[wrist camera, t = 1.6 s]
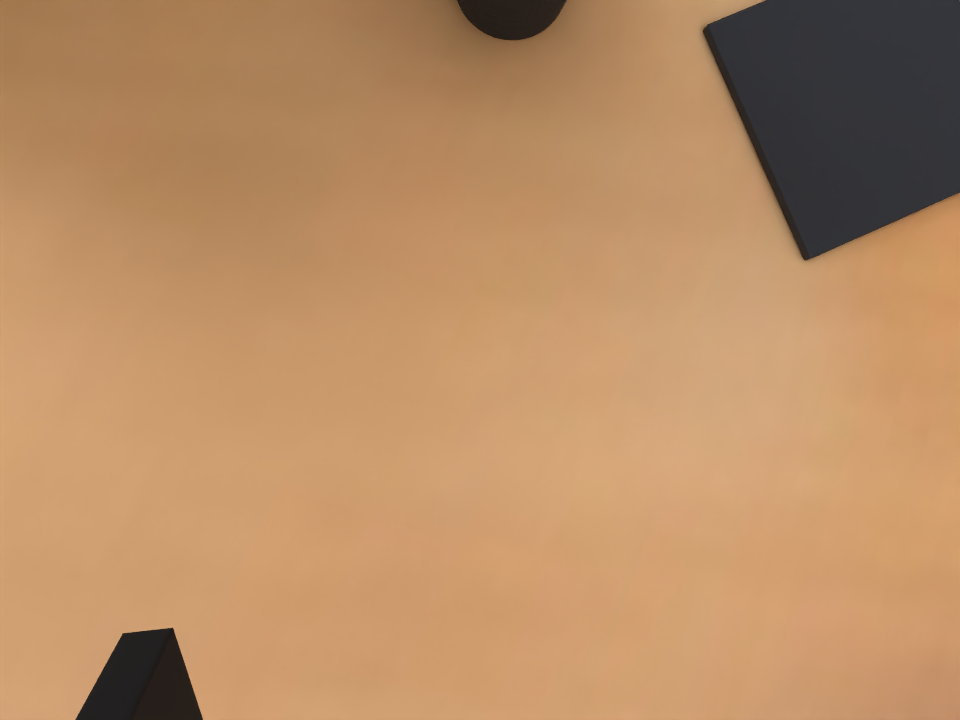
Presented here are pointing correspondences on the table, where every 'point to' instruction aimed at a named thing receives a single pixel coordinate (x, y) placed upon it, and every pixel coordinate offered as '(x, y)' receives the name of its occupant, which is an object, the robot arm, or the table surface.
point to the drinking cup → (511, 16)
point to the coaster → (847, 108)
